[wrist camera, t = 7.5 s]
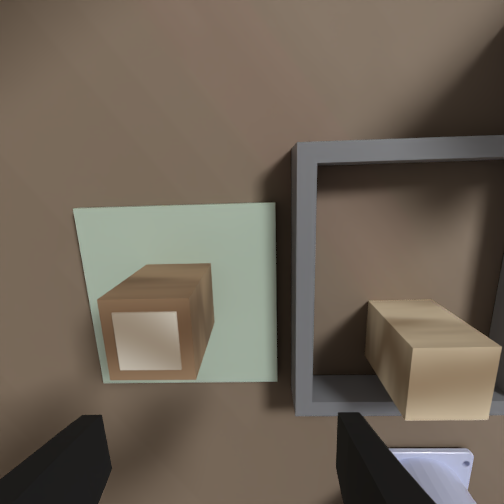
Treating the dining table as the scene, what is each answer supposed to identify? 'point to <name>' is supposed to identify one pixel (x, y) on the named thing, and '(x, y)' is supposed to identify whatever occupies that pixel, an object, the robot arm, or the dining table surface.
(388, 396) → the parts bin
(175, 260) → the pad
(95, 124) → the dining table surface
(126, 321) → the walnut block
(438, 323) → the maple block
